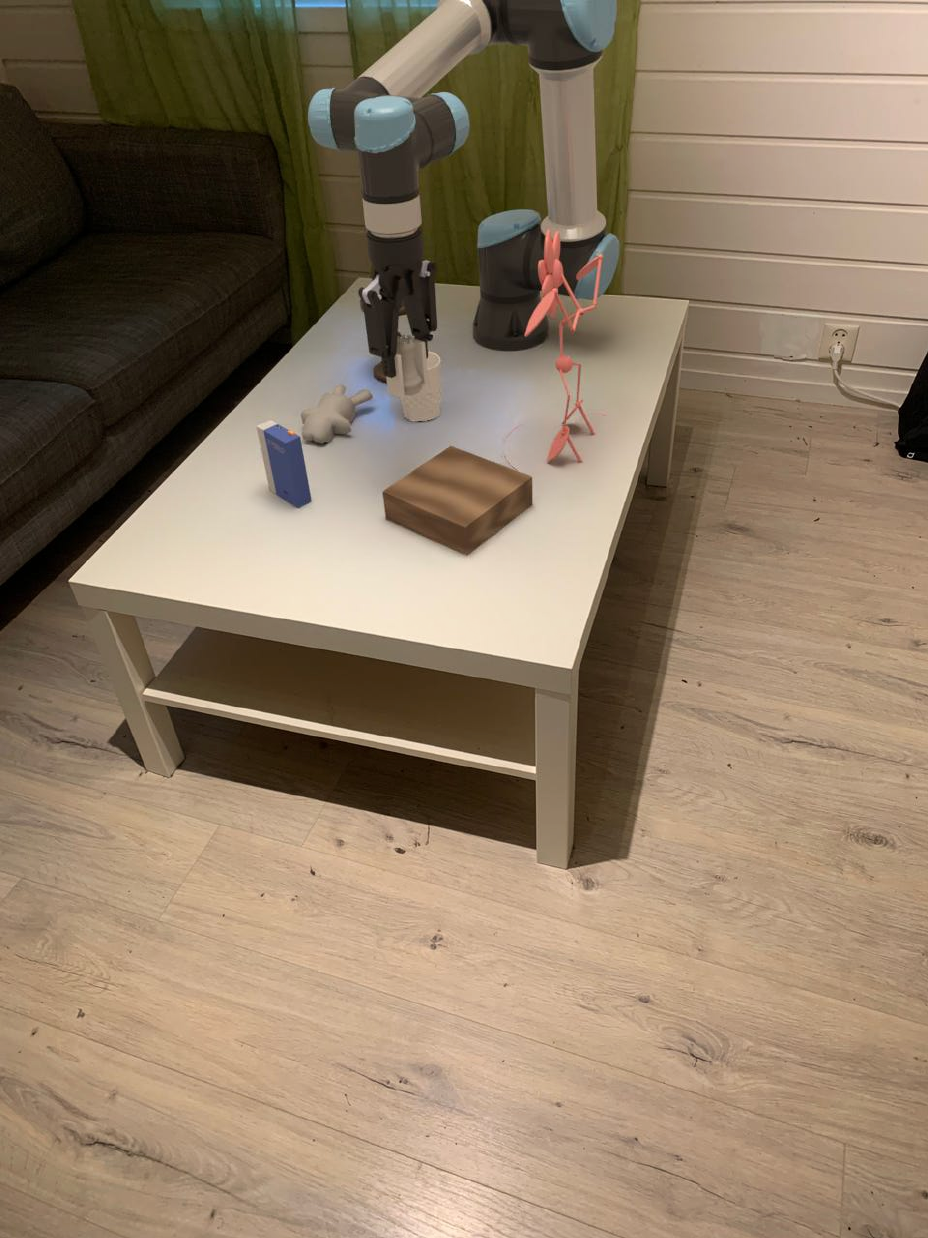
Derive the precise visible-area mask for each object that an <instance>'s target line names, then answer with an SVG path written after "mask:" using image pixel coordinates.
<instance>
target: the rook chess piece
mask: <svg viewBox="0 0 928 1238" xmlns="http://www.w3.org/2000/svg"><path fill="white" fill-rule="evenodd" d="M413 338H414V337H413V336H412V335H409V334H408V335H406V337H405V334H401V338H400V337H399V336H398V337H397V354H400V355H401V360H402V371H403V382H404V393H405V395H406V396H408V395H414V394H417V393H418V392H420V390H421V389H422V387H423V385H422V383H421V382H422V379H421V376H420V375H419V374H418V372H417V371H416V368H415V363H414V355H415V353H414V352H413V348H414V347H415V345H416V344H415V342H414V341H413Z"/></svg>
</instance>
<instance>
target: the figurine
mask: <svg viewBox="0 0 928 1238" xmlns="http://www.w3.org/2000/svg"><path fill="white" fill-rule="evenodd" d="M559 255H560V232H558V231H557V232H556V233H555V235H554V238H553V242H552V237H551V231H550V229H548V231H547V233H546V237H545V245H544V260H541V261H539V263H538V275H539V279H540V282H541V285H542V291H541V302H540V303H539V304H538V306H537V307H536V309H535V310H534V312H533V314H532V316H531V318H530V320H529V322H528V325H527V328H526V332H525V337H527V336H528V335H529V334H530V333H531V332H532V331H533V330H534V329H535V328H536V327H537V326H538V325H539V324H540V322H541V321H542V320H543V318H544V317H545V316H547V314H548V312H549V317H550V319H552V320H554V318H555V316H556V312H557V307H558V306H559V308H560V310H561V313H562V314H563V317H564V318H562V319H561V320H560V323H558V332H559V335H558V337H559V357H557V359H556V361H555V363H554V364H555V368H556V370H557V371H558V372H559V374H560V377H561V379H562V382H563V384H564V385H563V386H564V390H565V391H566V394H567V400H566V406H565V413H564V419H563V421H562V422H561V424H562V425H563V427H562V428H561V429H560V430H559V431H558V432H557V433H556V435H555V436H554V438H553V441H552V442H551V445H550V449H549V452H548V455H547V460H546V462H547V463H550V462H552V461H553V460H555V459H556V458H557V457H558V456H559V455H560V454H561V452H562V451H563V449H564V447H565V445H566V444H567V443H568V444H569V446H570V448H571V451H572V453H573V454H574V455H575V457H576V459H577V461H578V463H582V461H583V460H582V458H581V457H580V454H579V452H578V451H577V448H576V447H575V445H574V443H573V441H572V440H571V437H570V427H569V426H568V425H567V421H568V420H569V419H570V417H572V415H573V414H574V413H575V411H576V410H577V409H578V411H579V413H580V414H581V417H582V419H583V420H584V422H585V424H586V426H587V428H588V431H589V432H590V433H591V435H594V434H596V433H595V430H594V429H593V427H592V425H591V423H590V421H589V419H588V416H587V415H586V413H585V411H584V409H583V408H582V406H581V405H582V404H583V402H584V401H585V400H584V399H583V398H582V399H580V398H579V395H580V384H581V383H580V381H581V370H582V363H580V362H573V359H572V358H571V357H570V356H568V355H564V353H563V348H564V347H563V346H564V345H563V341H564V339H563V338H564V336H563V332H564V330H563V329H564V328H563V325H564V323H567V326H568V328H569V330H570V332H571V334H575V331H576V328H577V325H578V321H579V318H580V317H581V316H584V314H585V313H586V312H590V311H593V310H594V309H596V307H597V302H598V298H597V296H598V288H599V280H600V272H601V265H602V259H603V255H602V254H600V255H598V257H596V258H594V259H593V260H591V261H590V262H589V263H588V264H586V265H585V266H584V267H583V268H582V269H581V270H580V271H579V272H578V274H577V275H576V279H577V280H578V281H579V280H580V279H581V278H583V277H584V276H585V275H587V274H588V273H589V272H591V271H592V270H593V269H594V268H595V267H597V266H598V268H597V277H596V285H595V292H594V300H592V305H591V306H588V307H585V308H582V307H581V306H580V303H579V301H578V299H576V298H575V296H574V294H573V292H572V291H571V289H570V287H569V285H568V283H567V281H566V279H565V277H564V276H563V267H562V264H561V262H560V261H559ZM562 283H564V285H565V287H566V289H567V291H568V293H569V294H570V296H571V297H570V298H571V300H572V302H573V303H574V305H575V307H576V309H577V311H576V312H575V313H573V314H572V315H568V312H567V310H566V309H565V306H564V304H563V302H562V300H561V298H560V295H559V294H558V287H559V286H561V285H562ZM572 319H574V320H573V323H572V322H571V321H572ZM573 366H578V368H577V369H578V371H577V388H576V400H575V401H576V402H575V404H574V408H573V409H572V410H571V411H570V412H569V407H570V400H571V393H570V390H569V388H568V384H567V381H566V379H565V376H564V374H566V373H569V372H570V371H571V370H572V369H573ZM579 399H580V401H579ZM568 412H569V413H568ZM597 415H599V416H603V417H607V415H605V414H601V413H597ZM520 426H522V424H520V425H518V426H517V427H515V428H514V429H513V430H512V432H514V431H515V430H516V429H518V428H519V427H520ZM509 435H510V434H508V435H507V436H506V438H505V440H504V438H502V440H501V441H503V440H504V441H503V445H502V446H503V447H504V445H505V441H506V440H507V438H508V437H509ZM504 452H505V451H503V454H504ZM500 456H501V458H502V460H504V459H503V456H502V455H500ZM504 458H505V460H506V462H507V463H508V464H509V465H511V463H510V462H509V461H508V460H507V457H506V456H505V455H504ZM511 467H512V469H513V470H516V471H517V468H515V467H513V465H511Z"/></svg>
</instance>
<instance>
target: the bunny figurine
mask: <svg viewBox="0 0 928 1238" xmlns="http://www.w3.org/2000/svg"><path fill="white" fill-rule="evenodd" d="M346 390H347V388H346V385H344V384H341V383H340V384H339V383H337V384H335V385H334V387H333V390H332V393H330V392H326V393H325V394H323V395H322V396H321V397H320V399H319V400H318V403H317V407H314V408H310V409H309V408H308V409H306V410H302V411H301V412H300V419H301V422H302V424H303V428H302V429H303V430H302V431H301V435H302V439H303V440H305V441H310V442H312V441H314V442H315V443H318V444H324V443H331V442H333V439H334V438H335V437H334V436H335V435H336V434H337V435H338V434H350V433H351V432H352V428H351V427H352V426H351V423H352V422H353V420H354V419H355V413H356V407H358V406H359V405H362V404H364V403H367V402H369V401H371V400H372V399H373V398H374V395H373V394H372V393H371V392H372V391H370V390H369V389H367V388H365V389H361V390H359V391H358V392H356V393H355V394H353V395H351V396H350V397H348V396H347V395H345V392H346Z"/></svg>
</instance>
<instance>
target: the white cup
mask: <svg viewBox="0 0 928 1238" xmlns="http://www.w3.org/2000/svg"><path fill="white" fill-rule="evenodd" d="M426 360H427V373H428V383H427V384H426V385H424V384H422V385H423V387H422V389H421V390H420V392H418V393H417V394H414V395H408V396H406V395H405V396H404V397H403V398H399V400H400V403H401V404H400V405H401V410H402V415H403V414H404V415H403V417H404V418H405V417H406V418H408V419H409V420H408V419H407V420H408V421H410V420H414V421H413V422H415V421H426V422H428V421H427V420H430V419H433V418H435V417H436V416H438V415H439V414H441V412H442V374H441V373H442V368H441V364H442V362H441V357H440V355H438V354H437V353H435V352H433V351H429V350H428V358H427V359H426ZM439 416H440V415H439ZM439 416H438V417H439ZM406 418H405V419H406ZM436 418H437V417H436ZM436 418H435V419H436ZM433 420H434V419H433ZM430 421H431V420H430Z"/></svg>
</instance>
